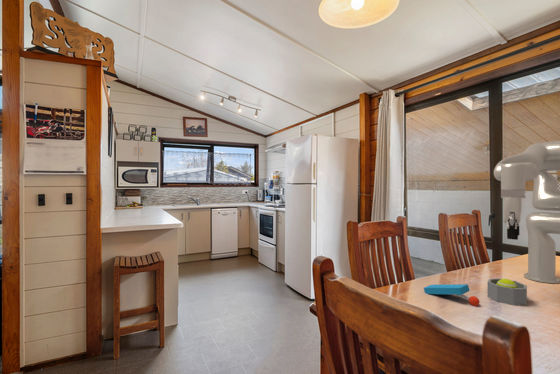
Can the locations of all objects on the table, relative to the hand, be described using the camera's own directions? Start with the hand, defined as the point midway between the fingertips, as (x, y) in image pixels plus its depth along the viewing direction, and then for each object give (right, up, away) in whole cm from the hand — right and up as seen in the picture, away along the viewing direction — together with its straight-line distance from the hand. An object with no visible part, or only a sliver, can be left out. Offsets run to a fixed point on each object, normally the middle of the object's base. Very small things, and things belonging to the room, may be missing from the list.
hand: (513, 237), depth 113 cm
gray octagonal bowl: (-5, -24, -2) cm, 24 cm away
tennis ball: (-5, -23, -3) cm, 23 cm away
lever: (-26, -24, -2) cm, 35 cm away
